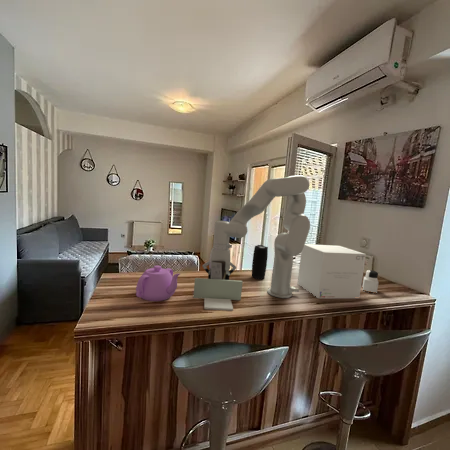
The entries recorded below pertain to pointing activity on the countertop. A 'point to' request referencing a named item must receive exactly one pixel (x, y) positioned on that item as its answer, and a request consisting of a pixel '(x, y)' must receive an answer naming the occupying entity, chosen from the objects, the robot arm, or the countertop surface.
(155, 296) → the teapot
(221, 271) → the coffee box
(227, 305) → the mat
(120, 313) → the countertop surface
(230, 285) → the screen
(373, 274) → the medicine bottle
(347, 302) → the countertop surface
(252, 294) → the countertop surface
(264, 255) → the portable speaker
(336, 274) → the cube
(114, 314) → the countertop surface
